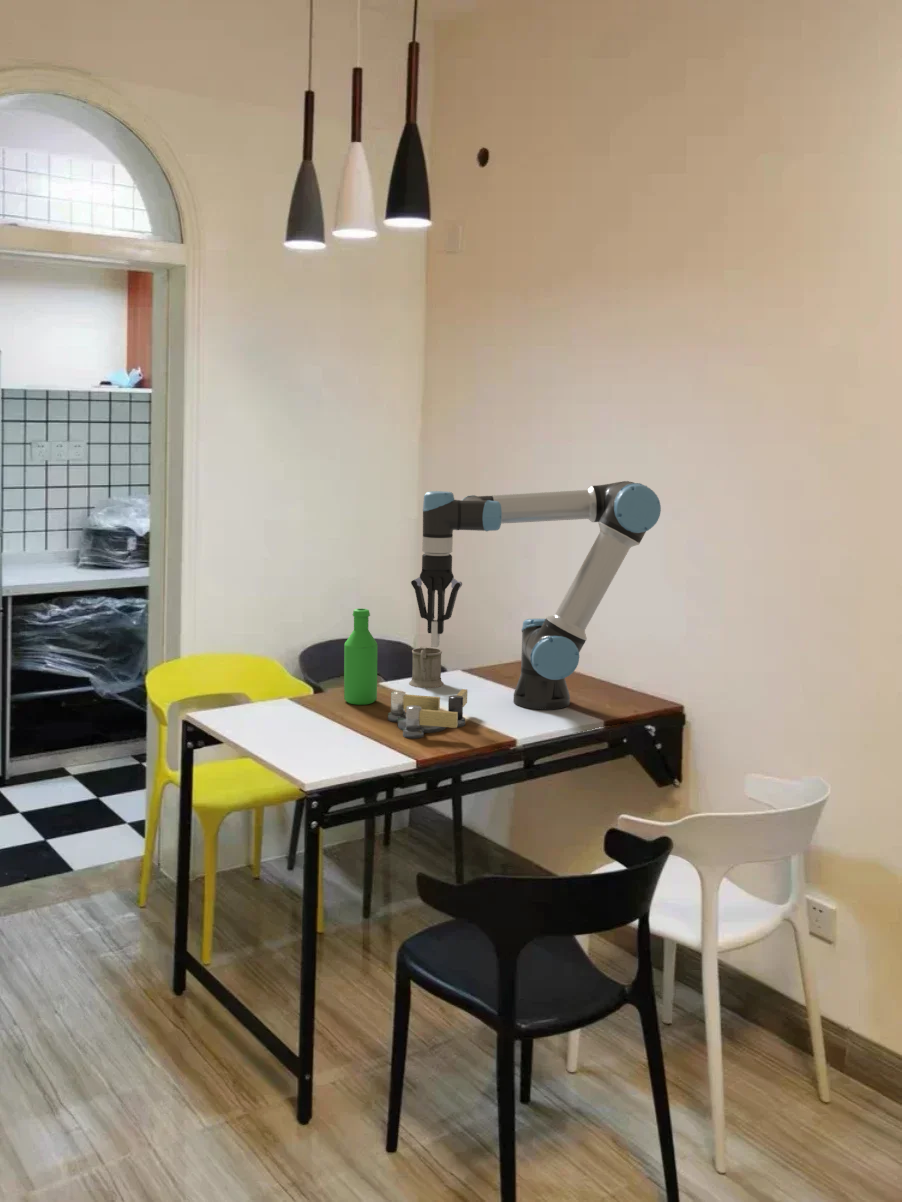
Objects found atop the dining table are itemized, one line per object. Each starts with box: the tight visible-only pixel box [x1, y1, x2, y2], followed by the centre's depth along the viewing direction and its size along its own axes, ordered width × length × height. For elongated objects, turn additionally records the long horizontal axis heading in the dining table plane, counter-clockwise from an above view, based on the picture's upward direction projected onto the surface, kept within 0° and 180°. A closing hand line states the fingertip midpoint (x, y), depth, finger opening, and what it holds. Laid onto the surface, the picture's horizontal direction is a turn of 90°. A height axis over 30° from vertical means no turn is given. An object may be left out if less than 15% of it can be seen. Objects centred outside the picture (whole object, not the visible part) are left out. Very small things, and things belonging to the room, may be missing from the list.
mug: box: [408, 646, 444, 689], centre depth 320 cm, size 14×10×12 cm
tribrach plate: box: [387, 711, 466, 740], centre depth 277 cm, size 20×18×2 cm
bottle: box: [343, 608, 378, 706], centre depth 300 cm, size 9×9×25 cm
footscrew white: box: [390, 690, 441, 716], centre depth 283 cm, size 12×4×6 cm, turn 77°
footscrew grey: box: [405, 705, 458, 732], centre depth 270 cm, size 12×4×6 cm, turn 77°
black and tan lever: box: [447, 688, 468, 720], centre depth 285 cm, size 12×4×6 cm, turn 167°
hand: (435, 646), depth 286 cm, fingers closed
